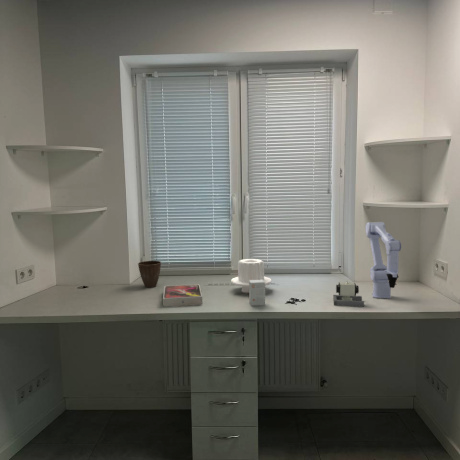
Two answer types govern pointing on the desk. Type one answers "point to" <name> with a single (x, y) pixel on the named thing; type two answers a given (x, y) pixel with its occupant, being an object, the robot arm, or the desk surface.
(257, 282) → the small box
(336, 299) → the housing bracket
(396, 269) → the robot arm
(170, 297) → the product packaging
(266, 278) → the ribbed cylinder on disc
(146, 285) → the plant pot
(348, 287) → the pneumatic valve
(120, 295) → the desk surface
